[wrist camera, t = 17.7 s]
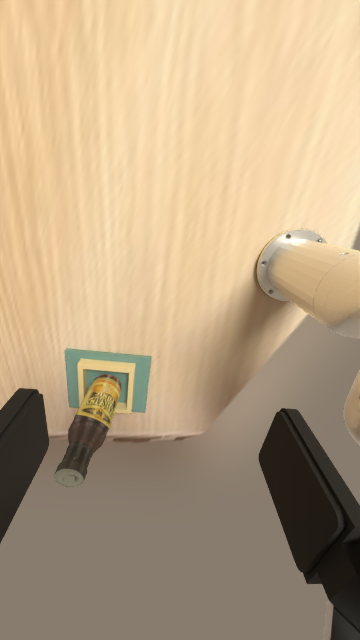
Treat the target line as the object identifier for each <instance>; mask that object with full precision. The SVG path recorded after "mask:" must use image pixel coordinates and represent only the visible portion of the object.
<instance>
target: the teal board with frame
mask: <svg viewBox="0 0 360 640" xmlns="http://www.w3.org/2000/svg"><path fill="white" fill-rule="evenodd" d="M65 358H66V371H67V385H68V398H69V407H74V408H80V406H81V404H82V402H83V400H84V398H85V396H86V394H87V392H88V390H89V388H90V386H91V384H92V382H93V381H94V380H95V379H96V378H97V377H98V376H100V375H103V374H108V375H112V376H115V377H117V379H118V380H119V381H120V383H121V393H120V396H119V399H118V402H117V405H116V409H115V413H129V414H131V412H145V410H146V400H147V391H148V382H149V372H150V363H151V356H140V355H130V354H119V353H108V352H98V351H87V350H77V349H66V350H65Z"/></svg>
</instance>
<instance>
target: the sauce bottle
mask: <svg viewBox="0 0 360 640" xmlns="http://www.w3.org/2000/svg"><path fill="white" fill-rule="evenodd" d="M120 393H121V383H120V381H119V380H118V379H117V377H115V376H112V375H108V374H103V375H100V376H98V377H97V378H96V379H95V380H94V381H93V382H92V384H91V386H90V388H89V390H88V392H87V394H86V396H85V398H84V400H83V402H82V404H81V406H80V408H79V410H78V411H77V413H76V415H75V418H74V421H73V422H72V424H71V426H70V428H69V431H68V439H69V446H68V448H67V452H66V454H65V456H64V458H63V460H62V462H61V463H60V464H59V466H58V468H57V470H56V472H55V479H56V481H57V482H58V483H59V484H61V485H63V486H66V487H75V486H79V485H80V484H82V483H83V481H84V479H85V476H86V474H87V467H88V464H89V461H90V458H91V457H92V454H93V453H94V452H95V451H96V450H97V449H98V448H99V447H101V445H102V444H103V442H104V439H105V437H106V434H107V432H108V429H109V427H110V424H111V421H112V418H113V415H114V412H115V409H116V405H117V402H118V399H119V396H120Z"/></svg>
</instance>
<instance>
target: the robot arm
mask: <svg viewBox="0 0 360 640" xmlns="http://www.w3.org/2000/svg"><path fill="white" fill-rule="evenodd" d="M286 235H287V237H286ZM317 240H318V241H317ZM263 261H264V262H263ZM262 262H263V263H262ZM257 279H258V283H259V285H260V287H261V288H262V290H263V291H264V292H265V293H266V294H267V295H269V296H270V297H272V298H274V299H276V300H279V301H292V302H293V303H294V304H296V305H297V306H298V307H300V308H301V309H302V310H304V311H305V312H306V313H308V314H309V315H310V316H312V317H313V318H314V319H316V320H317V321H319V322H320V323H321V324H323V325H324V326H326V327H327V328H328V329H330V330H331V331H333V332H335V333H337V334H339V335H342V336H346V337H350V338H360V251H358V250H353V249H348V248H344V247H339V246H334V245H330V244H327V242H326V241H325V239H324V238H323V237H322V236H321V235H320V234H318V233H317V232H315V231H312V230H309V229H302V228H300V229H291V230H287V231H285V232H283V233H281V234H279V235H277V236H276V237H275V238H273V239H272V240H271V241H270V242H269V243H268V244H267V245H266V247H265V248H264V249H263V251H262V253H261V255H260V257H259V260H258V263H257ZM269 290H270V291H269ZM344 422H345V425H346V427H347V429H348V431H349V433H350V435H351V436H352V437H353V438H354V440H355V441H356V442H357V443H358V444H359V445H360V370H359V372H358V374H357V377H356V379H355V381H354V383H353V385H352V387H351V390H350V393H349V395H348V397H347V400H346V403H345V406H344ZM48 446H49V438H48V430H47V423H46V415H45V408H44V400H43V395H42V394H39V392H38V390H37V389H24V388H20V389H18V390H17V391H16V392H15V393H14V395H13V396H12V397H11V398H10V399H9V400H8V402H7V403H6V404H5V405H4V406H3V408H2V409H1V410H0V543H1V541H2V539H3V537H4V535H5V533H6V531H7V529H8V527H9V525H10V523H11V521H12V519H13V517H14V515H15V513H16V511H17V509H18V507H19V505H20V503H21V501H22V499H23V497H24V495H25V493H26V491H27V489H28V487H29V485H30V484H31V482H32V480H33V478H34V476H35V474H36V472H37V470H38V468H39V466H40V464H41V462H42V460H43V458H44V456H45V454H46V452H47V449H48ZM259 463H260V466H261V468H262V471H263V474H264V477H265V480H266V482H267V485H268V488H269V491H270V493H271V496H272V499H273V502H274V505H275V507H276V510H277V513H278V516H279V518H280V521H281V524H282V526H283V530H284V533H285V535H286V538H287V541H288V544H289V546H290V549H291V552H292V555H293V558H294V560H295V563H296V565H297V567H298V569H299V570H300V571H301V572H303V574H304V577H305V580H306V583H307V584H322V585H323V587H324V589H325V592H326V594H327V597H328V599H327V608H326V617H325V625H324V634H323V640H360V505H359V504H358V502H357V501H356V499H355V498H354V496H353V494H352V493H351V491H350V490H349V488H348V487H347V485H346V484H345V482H344V481H343V479H342V477H341V476H340V474H339V473H338V471H337V470H336V468H335V467H334V465H333V463H332V462H331V460H330V459H329V457H328V456H327V454H326V453H325V451H324V450H323V448H322V447H321V445H320V443H319V442H318V440H317V439H316V437H315V436H314V434H313V433H312V431H311V429H310V428H309V426H308V425H307V423H306V422H305V420H304V419H303V417H302V416H301V414H300V412H299V411H298V410H296V409H284V408H282V409H281V410H280V411H279V412H277V413H276V415H275V417H274V420H273V422H272V424H271V427H270V429H269V431H268V434H267V436H266V438H265V441H264V443H263V446H262V448H261V450H260V453H259Z"/></svg>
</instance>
